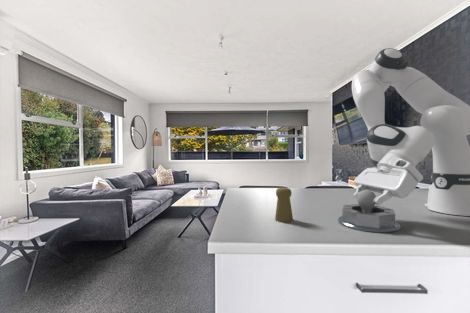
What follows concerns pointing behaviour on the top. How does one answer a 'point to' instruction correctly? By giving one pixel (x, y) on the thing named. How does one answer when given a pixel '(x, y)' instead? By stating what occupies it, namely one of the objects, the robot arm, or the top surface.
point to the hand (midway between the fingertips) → (365, 200)
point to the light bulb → (366, 200)
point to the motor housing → (369, 219)
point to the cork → (283, 205)
